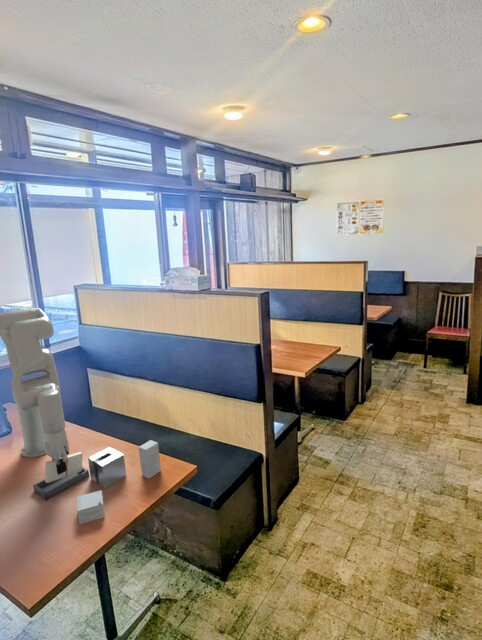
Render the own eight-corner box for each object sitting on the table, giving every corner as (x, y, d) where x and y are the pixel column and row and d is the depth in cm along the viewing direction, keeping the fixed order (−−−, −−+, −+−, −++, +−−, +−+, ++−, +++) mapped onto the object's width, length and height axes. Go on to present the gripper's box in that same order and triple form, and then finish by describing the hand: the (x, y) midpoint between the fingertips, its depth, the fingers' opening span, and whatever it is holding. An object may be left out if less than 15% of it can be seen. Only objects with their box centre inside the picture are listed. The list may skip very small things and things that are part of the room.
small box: (78, 509, 130) (76, 496, 128) (103, 502, 132) (102, 489, 131) (79, 525, 123) (76, 511, 121) (105, 517, 125) (103, 503, 124)
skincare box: (153, 467, 151) (150, 439, 148) (161, 471, 148) (158, 442, 146) (141, 475, 146) (138, 446, 143) (149, 479, 144) (146, 450, 141)
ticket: (44, 481, 138) (45, 462, 137) (79, 469, 148) (80, 451, 148) (47, 483, 137) (47, 463, 136) (81, 471, 147) (82, 453, 147)
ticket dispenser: (91, 479, 145) (88, 457, 143) (112, 467, 152) (109, 446, 150) (105, 488, 139) (102, 466, 137) (126, 475, 146) (123, 454, 144)
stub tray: (34, 491, 139) (33, 485, 139) (77, 468, 152) (76, 463, 151) (45, 500, 134) (44, 494, 134) (89, 476, 147) (88, 470, 146)
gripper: (32, 423, 139) (40, 469, 143) (53, 435, 130) (61, 484, 134) (52, 415, 145) (60, 460, 149) (75, 426, 136) (82, 473, 139)
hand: (60, 471), depth 141 cm, fingers closed on ticket, 1 cm apart
